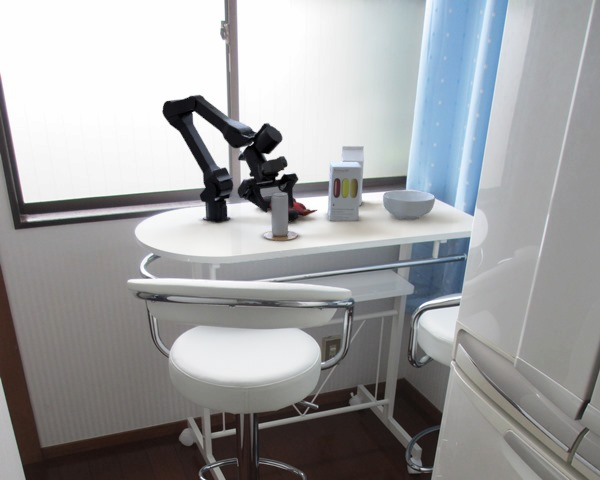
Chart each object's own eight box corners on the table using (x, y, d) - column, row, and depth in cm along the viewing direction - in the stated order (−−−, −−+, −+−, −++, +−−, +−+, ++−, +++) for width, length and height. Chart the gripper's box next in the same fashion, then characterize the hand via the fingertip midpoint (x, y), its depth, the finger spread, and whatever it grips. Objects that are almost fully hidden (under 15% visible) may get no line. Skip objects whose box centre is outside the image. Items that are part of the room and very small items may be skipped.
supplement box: (329, 221, 219) (331, 166, 211) (327, 213, 227) (328, 161, 219) (359, 221, 220) (362, 166, 212) (355, 213, 228) (358, 161, 220)
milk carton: (361, 205, 238) (364, 148, 228) (340, 205, 238) (342, 148, 229) (360, 201, 244) (362, 144, 235) (340, 200, 244) (342, 144, 235)
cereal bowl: (441, 221, 220) (443, 199, 216) (392, 224, 216) (394, 202, 212) (420, 209, 234) (422, 188, 230) (374, 212, 230) (375, 190, 227)
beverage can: (271, 232, 206) (270, 191, 200) (287, 232, 206) (287, 191, 200) (272, 237, 201) (271, 195, 195) (288, 236, 202) (288, 195, 196)
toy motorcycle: (278, 228, 216) (325, 216, 219) (275, 212, 213) (323, 200, 216) (257, 211, 237) (300, 201, 240) (254, 196, 234) (298, 186, 237)
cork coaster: (256, 236, 203) (256, 235, 203) (278, 229, 210) (278, 228, 210) (283, 243, 198) (283, 241, 197) (304, 235, 205) (304, 234, 204)
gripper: (241, 149, 190) (264, 197, 188) (295, 143, 200) (317, 189, 198) (227, 174, 200) (249, 220, 197) (279, 167, 210) (300, 211, 207)
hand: (280, 209), depth 200 cm, fingers open, 9 cm apart
